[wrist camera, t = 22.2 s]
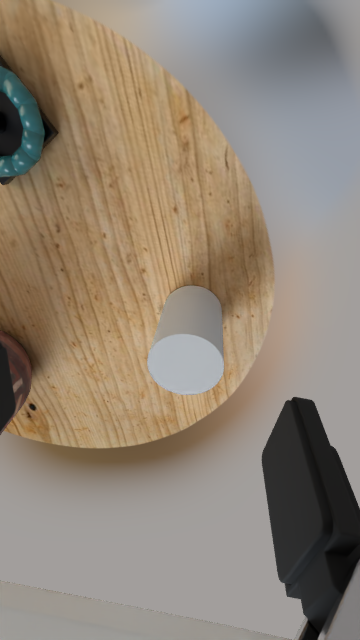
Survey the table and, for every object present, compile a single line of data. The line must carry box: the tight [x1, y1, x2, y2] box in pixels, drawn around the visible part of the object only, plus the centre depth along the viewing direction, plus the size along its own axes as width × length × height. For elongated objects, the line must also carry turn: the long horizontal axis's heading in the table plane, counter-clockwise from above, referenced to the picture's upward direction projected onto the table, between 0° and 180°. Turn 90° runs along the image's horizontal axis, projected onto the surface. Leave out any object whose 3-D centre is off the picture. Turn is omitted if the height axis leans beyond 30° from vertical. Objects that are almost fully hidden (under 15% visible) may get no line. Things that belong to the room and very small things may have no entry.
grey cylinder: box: [147, 286, 224, 395], centre depth 38 cm, size 8×8×12 cm
